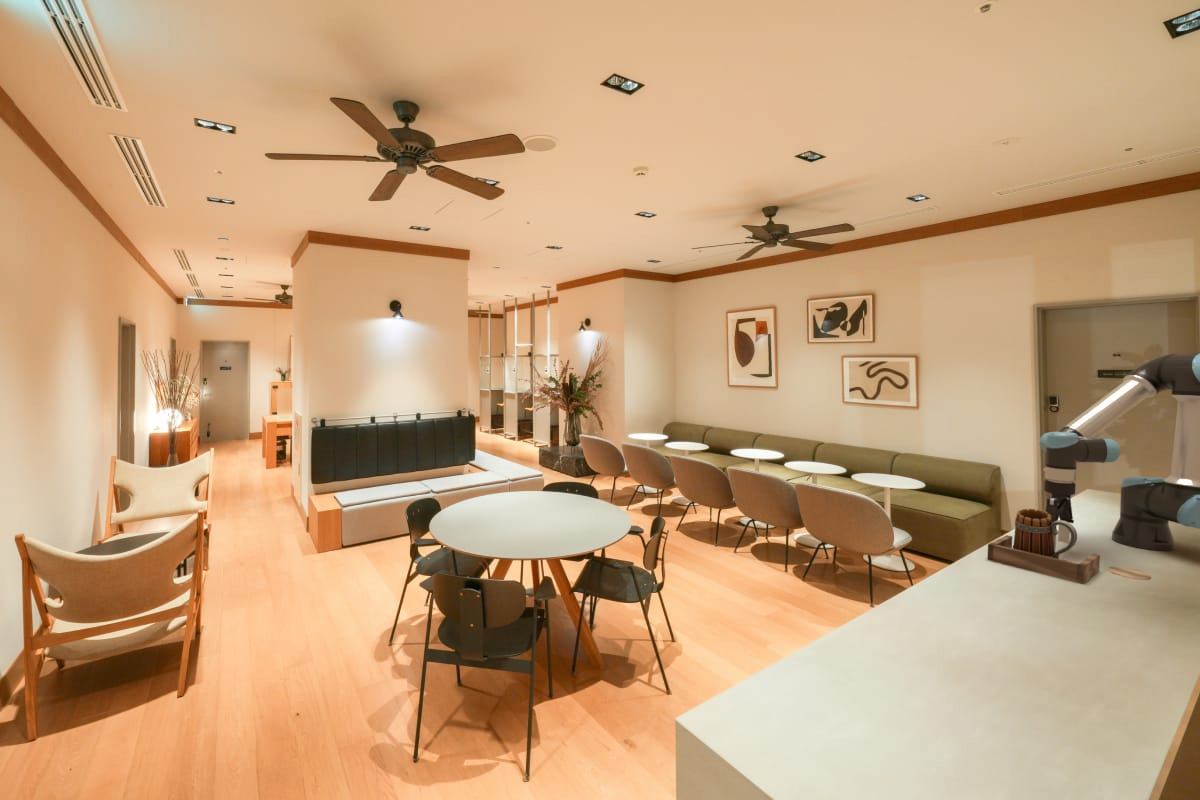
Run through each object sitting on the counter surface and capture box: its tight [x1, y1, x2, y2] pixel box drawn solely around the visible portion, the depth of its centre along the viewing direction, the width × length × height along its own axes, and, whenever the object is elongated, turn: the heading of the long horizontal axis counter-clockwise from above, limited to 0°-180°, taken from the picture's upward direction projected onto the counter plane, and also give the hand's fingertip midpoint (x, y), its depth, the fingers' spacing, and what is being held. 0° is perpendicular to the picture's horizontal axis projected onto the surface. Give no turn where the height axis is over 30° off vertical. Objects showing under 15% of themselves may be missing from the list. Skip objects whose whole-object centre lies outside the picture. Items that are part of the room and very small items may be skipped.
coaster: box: [1107, 565, 1152, 581], centre depth 156 cm, size 9×9×1 cm
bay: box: [986, 535, 1101, 585], centre depth 163 cm, size 16×23×5 cm
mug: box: [1012, 508, 1078, 561], centre depth 162 cm, size 16×11×15 cm
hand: (1056, 546), depth 171 cm, fingers open, 13 cm apart
